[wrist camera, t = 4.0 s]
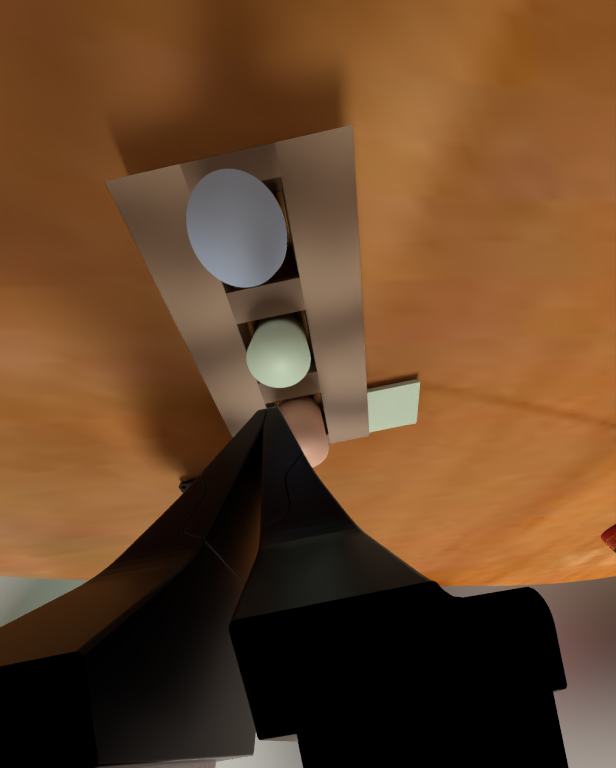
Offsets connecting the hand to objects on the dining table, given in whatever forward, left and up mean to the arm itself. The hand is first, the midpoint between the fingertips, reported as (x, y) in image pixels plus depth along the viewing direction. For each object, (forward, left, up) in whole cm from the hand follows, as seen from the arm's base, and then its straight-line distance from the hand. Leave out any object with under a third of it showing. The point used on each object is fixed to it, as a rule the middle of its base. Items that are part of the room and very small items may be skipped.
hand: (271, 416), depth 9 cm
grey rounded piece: (+7, 0, -8) cm, 10 cm away
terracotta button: (-7, 0, -8) cm, 10 cm away
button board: (0, 0, -10) cm, 10 cm away
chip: (-9, -9, -10) cm, 16 cm away
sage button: (0, 0, -10) cm, 10 cm away
